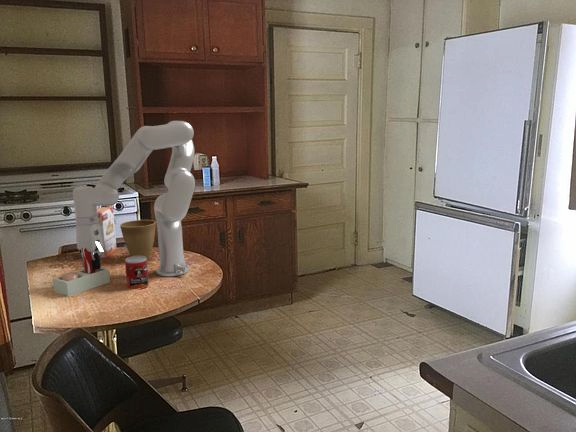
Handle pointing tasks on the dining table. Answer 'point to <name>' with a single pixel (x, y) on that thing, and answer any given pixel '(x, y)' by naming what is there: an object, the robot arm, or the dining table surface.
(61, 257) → the dining table surface
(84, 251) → the soda can
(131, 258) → the canned food
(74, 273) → the brown egg
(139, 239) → the plant pot
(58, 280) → the caddy
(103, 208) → the cracker box
